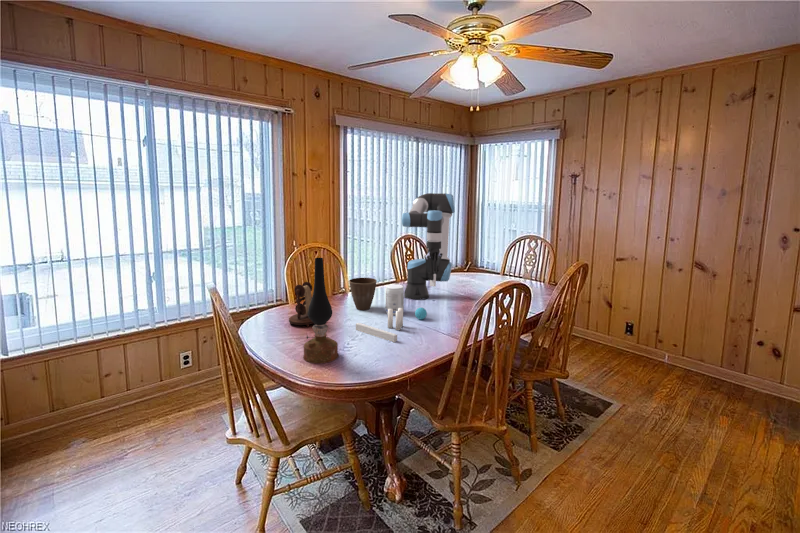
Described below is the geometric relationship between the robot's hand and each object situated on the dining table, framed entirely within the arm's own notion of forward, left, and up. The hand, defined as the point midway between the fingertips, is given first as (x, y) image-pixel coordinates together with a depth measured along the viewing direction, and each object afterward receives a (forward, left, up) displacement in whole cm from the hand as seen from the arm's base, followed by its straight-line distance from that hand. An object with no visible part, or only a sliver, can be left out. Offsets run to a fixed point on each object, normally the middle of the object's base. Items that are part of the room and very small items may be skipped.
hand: (432, 285), depth 217 cm
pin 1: (+30, -3, -16) cm, 34 cm away
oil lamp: (+74, +1, -16) cm, 76 cm away
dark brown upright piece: (+53, -38, -16) cm, 67 cm away
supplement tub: (+10, -17, -16) cm, 26 cm away
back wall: (+42, 0, -16) cm, 45 cm away
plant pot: (+16, -35, -16) cm, 42 cm away
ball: (+9, 0, -13) cm, 16 cm away
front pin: (+25, 0, -16) cm, 30 cm away
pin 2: (+30, +2, -16) cm, 34 cm away
